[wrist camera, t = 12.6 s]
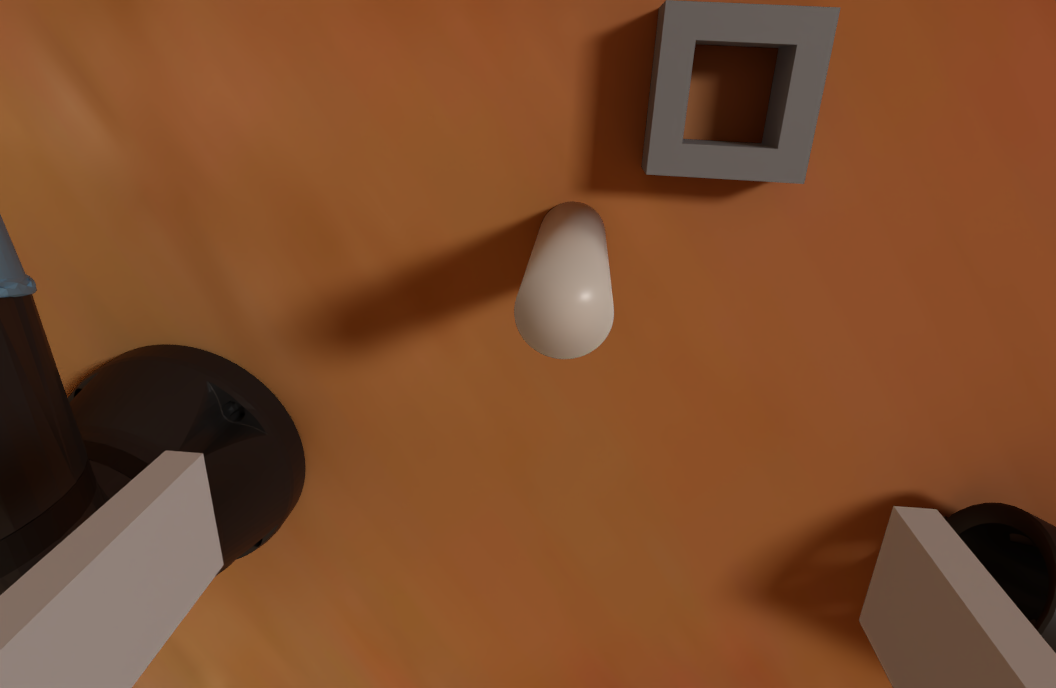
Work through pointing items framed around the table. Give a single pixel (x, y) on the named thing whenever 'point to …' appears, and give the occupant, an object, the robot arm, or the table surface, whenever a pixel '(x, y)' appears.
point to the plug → (567, 285)
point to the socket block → (791, 99)
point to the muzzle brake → (1015, 558)
